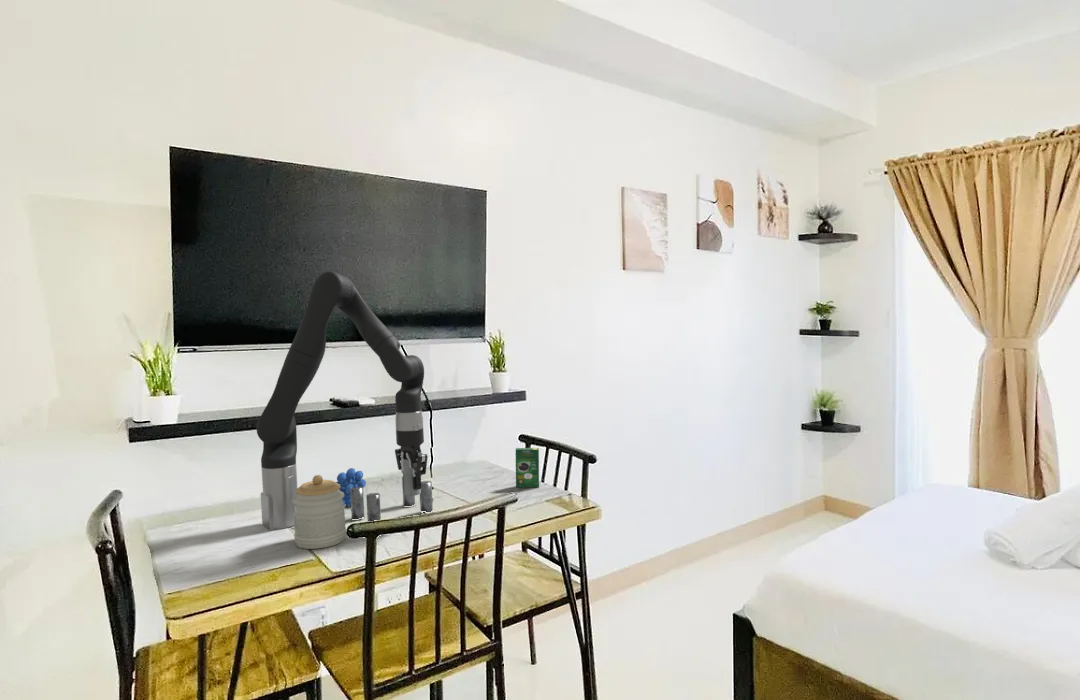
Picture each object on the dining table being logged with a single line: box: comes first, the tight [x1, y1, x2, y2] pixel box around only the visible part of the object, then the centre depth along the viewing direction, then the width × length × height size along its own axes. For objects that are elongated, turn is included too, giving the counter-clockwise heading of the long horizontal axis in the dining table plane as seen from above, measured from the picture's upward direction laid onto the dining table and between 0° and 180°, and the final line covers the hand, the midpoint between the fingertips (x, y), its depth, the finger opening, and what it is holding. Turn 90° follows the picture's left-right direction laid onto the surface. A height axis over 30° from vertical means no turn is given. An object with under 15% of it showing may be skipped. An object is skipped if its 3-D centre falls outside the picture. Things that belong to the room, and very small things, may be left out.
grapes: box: [334, 467, 367, 507], centre depth 201 cm, size 12×7×12 cm, turn 131°
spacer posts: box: [350, 476, 434, 522], centre depth 190 cm, size 21×14×9 cm, turn 132°
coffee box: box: [515, 447, 540, 489], centre depth 216 cm, size 8×3×13 cm, turn 87°
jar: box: [292, 474, 347, 550], centre depth 170 cm, size 13×13×18 cm
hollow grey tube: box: [403, 458, 421, 496], centre depth 181 cm, size 4×4×10 cm
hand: (412, 487), depth 181 cm, fingers closed on hollow grey tube, 4 cm apart
